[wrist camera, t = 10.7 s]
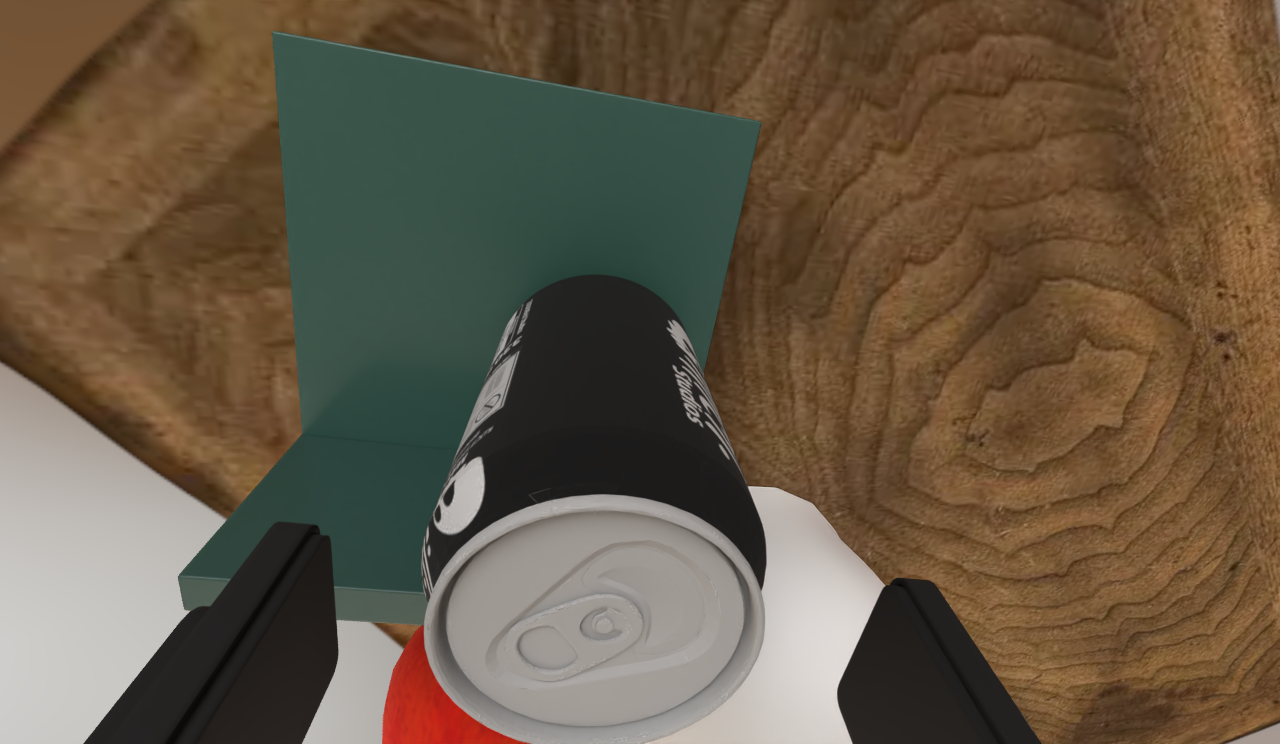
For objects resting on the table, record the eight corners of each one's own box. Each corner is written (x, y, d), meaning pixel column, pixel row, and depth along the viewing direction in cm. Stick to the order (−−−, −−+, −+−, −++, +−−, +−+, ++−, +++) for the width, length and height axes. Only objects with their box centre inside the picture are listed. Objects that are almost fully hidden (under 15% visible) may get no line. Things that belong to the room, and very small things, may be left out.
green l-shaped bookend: (352, 47, 22) (59, -16, 10) (723, 116, 23) (855, 133, 12) (361, 389, 27) (183, 611, 15) (660, 423, 29) (704, 644, 17)
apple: (387, 572, 32) (276, 826, 21) (547, 497, 30) (520, 724, 19) (490, 681, 36) (443, 942, 25) (635, 619, 34) (655, 865, 23)
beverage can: (717, 392, 22) (842, 686, 11) (561, 466, 23) (531, 807, 12) (637, 232, 19) (695, 408, 8) (463, 323, 20) (305, 592, 9)
